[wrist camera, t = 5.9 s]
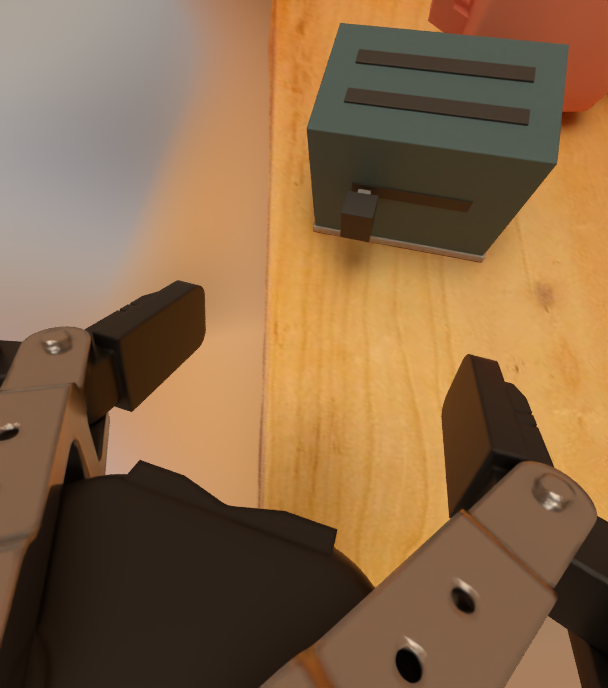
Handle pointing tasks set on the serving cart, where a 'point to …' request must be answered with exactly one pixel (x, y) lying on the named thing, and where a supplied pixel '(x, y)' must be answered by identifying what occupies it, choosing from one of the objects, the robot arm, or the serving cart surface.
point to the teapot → (541, 35)
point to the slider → (358, 215)
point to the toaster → (435, 133)
